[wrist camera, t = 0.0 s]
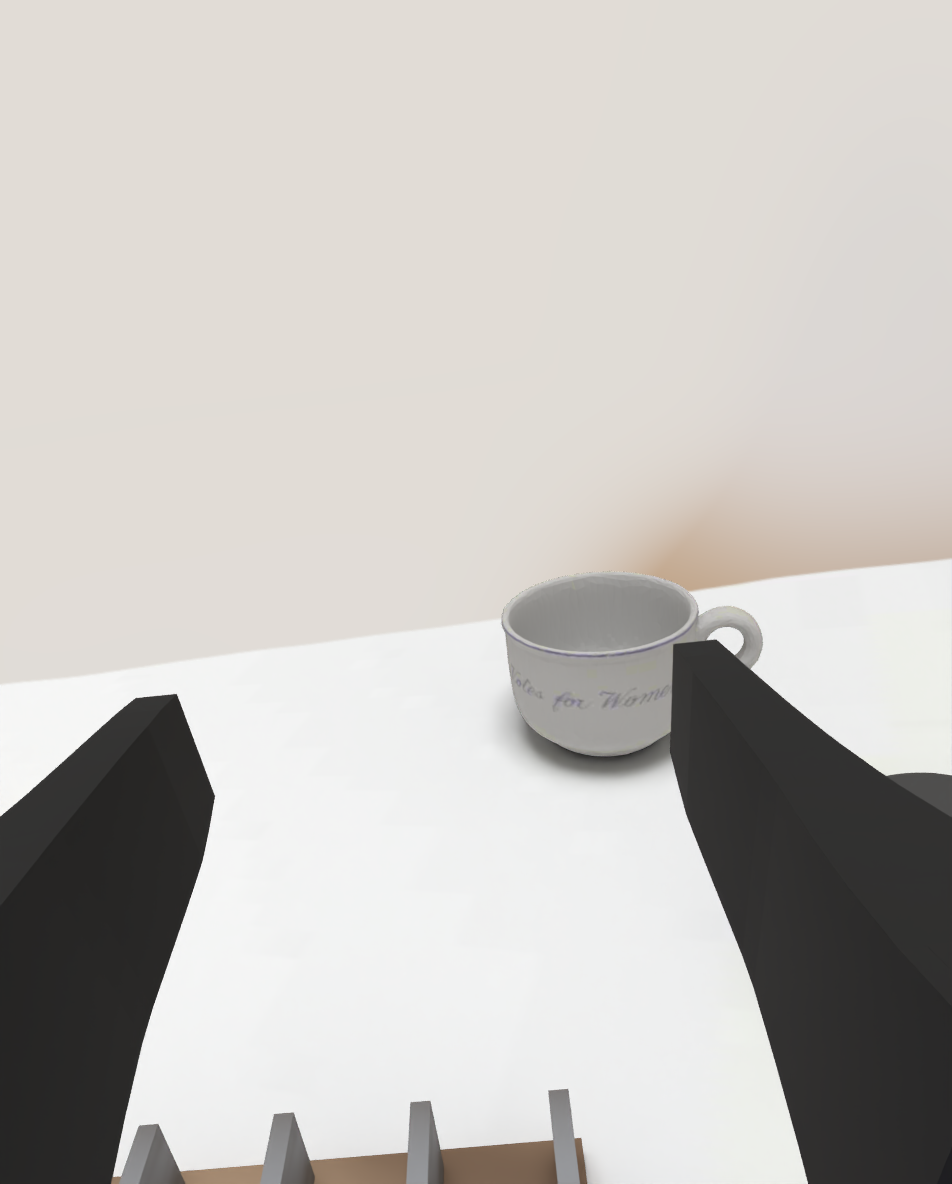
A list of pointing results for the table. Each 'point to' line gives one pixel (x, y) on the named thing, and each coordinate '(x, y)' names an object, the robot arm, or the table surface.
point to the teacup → (606, 656)
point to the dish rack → (379, 1158)
